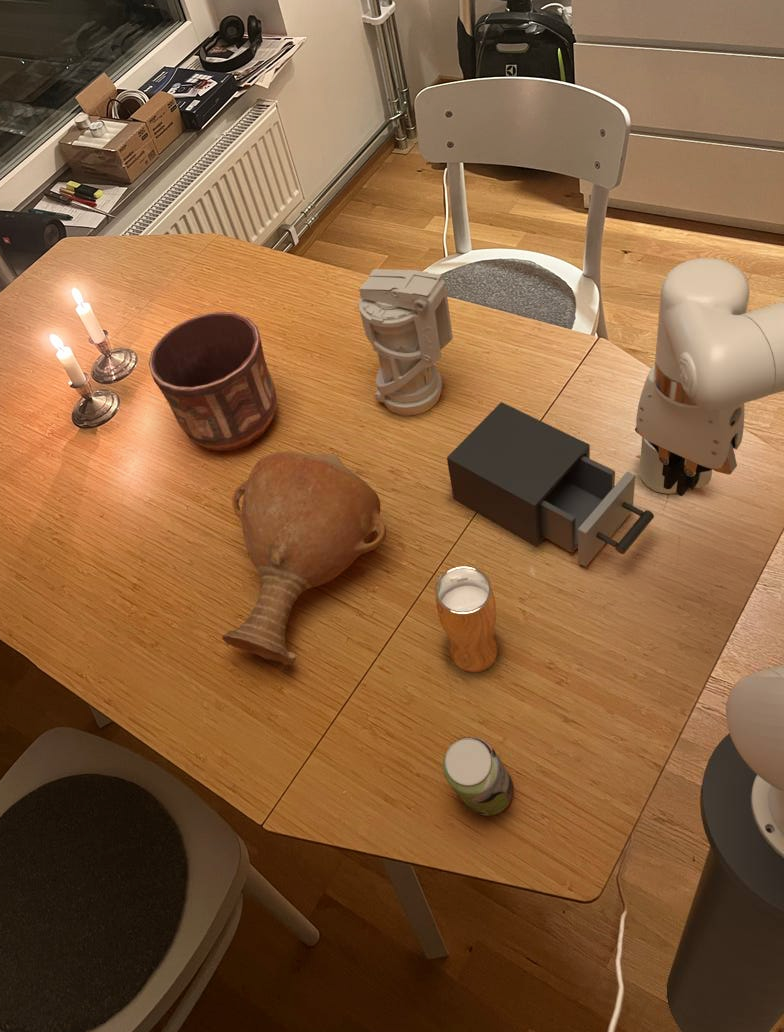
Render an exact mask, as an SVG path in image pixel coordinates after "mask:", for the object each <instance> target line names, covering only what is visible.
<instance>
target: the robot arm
mask: <svg viewBox="0 0 784 1032" xmlns="http://www.w3.org/2000/svg"><path fill="white" fill-rule="evenodd" d="M659 297H660V300H659V309H658V310H659V311H658V323H657V332H656V333H657V336H656V345H655V356H654V357H655V358H654V359H655V360H654V364H653V365H652V367H651V368H650V370H649V371H648V374H647V377H646V379H645V381H644V385H643V387H642V390H641V393H640V396H639V401H638V405H637V411H636V419H635V428H634V432H635V433H636V434H638V435H639V436H640V437H641V438H642V437H643V438H644V439H646V440H647V441H649V442H650V443H651V444H652V446H653V447H654V448H655V449H656V451H657V452H658V453H659V461H660V462H661V463H662V464H663V471H662V476H665V477H664V486H663V487H664V488H665V489H667V490H668V489H671V488H672V487H673V486H674V484H675V483H676V482H677V489H676V493H675V494H676V495H678V496H680V497H683V496H684V495H685V494H686V492H687V491H688V490H694V489H695V488H696V487H695V486H696V485H697V483H698V481H699V476H700V473H701V472H706V471H711V469H712V471H714V472H717V473H721V474H724V475H727V476H728V475H731V474H732V473H733V472H734V470H736V468H737V467H738V463H737V459H736V454H735V450H738V449H739V447H740V445H741V443H742V441H743V437H744V429H745V428H744V427H745V410H746V409H745V404H746V403H749V402H753V401H755V400H759V399H763V398H765V397H768V396H771V395H774V394H779V393H782V392H784V301H780V302H777V303H773V304H771V305H767V306H764V307H763V306H762V307H759V308H757V309H753V310H751V311H748V305H749V299H750V284H749V281H748V278H747V276H746V275H745V273H744V272H743V271H742V269H740V268H739V267H738V266H737V265H735V264H734V263H732V262H729V261H727V260H724V259H722V258H721V259H720V258H715V257H714V258H713V257H699V258H693V259H689V260H686V261H684V262H680V263H679V264H677V265H675V266H674V268H672V269H671V270H669V272H668V273H667V274H666V276H665V278H664V279H663V282H662V285H661V290H660V296H659ZM685 458H686V459H687V461H686V464H685ZM684 464H685V465H684ZM725 720H726V725H727V729H728V734H729V733H730V736H731V738H732V741H733V743H734V745H735V747H736V749H737V750H738V752H739V753H740V755H741V756H742V758H743V759H744V761H745V762H746V763H747V764H748V766H749V767H750V768H751V769H752V770H753V771H754V772H755V773H756V774H757V776H756V778H755V781H754V783H753V786H752V792H751V809H752V812H753V816H754V820H755V822H756V824H757V827H758V829H759V831H760V833H761V834H762V835H763V837H764V838H765V840H766V841H767V843H768V844H769V845H770V846H771V847H772V848H773V849H774V850H775V851H776V852H777V853H778V854H779V855H780V856H781V857H783V858H784V663H782V664H778V665H775V666H771V667H769V668H765V669H762V670H758V671H755V672H752V673H749V674H747V675H745V676H743V677H741V678H740V679H738V680H737V681H736V682H735V683H734V684H733V686H732V687H731V689H730V690H729V693H728V695H727V699H726V706H725ZM766 829H769V830H770V831H771V833H769V832H767V831H766Z"/></svg>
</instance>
